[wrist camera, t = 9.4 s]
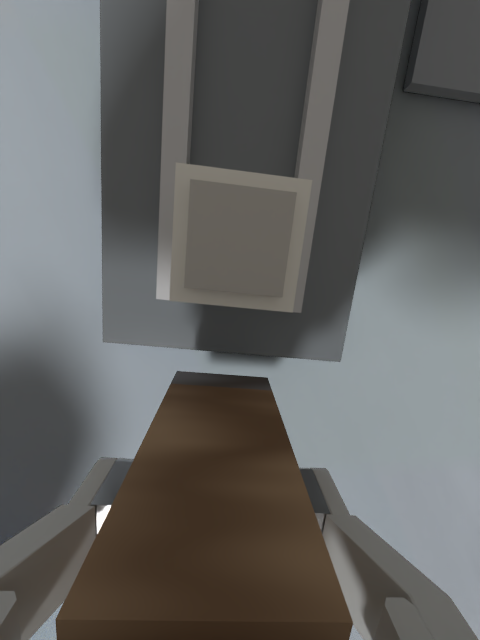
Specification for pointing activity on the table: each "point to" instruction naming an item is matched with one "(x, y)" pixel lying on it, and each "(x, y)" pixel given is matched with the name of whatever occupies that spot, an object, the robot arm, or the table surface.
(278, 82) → the switch panel
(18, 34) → the table surface
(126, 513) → the wooden block
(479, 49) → the mat
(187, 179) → the switch tab
